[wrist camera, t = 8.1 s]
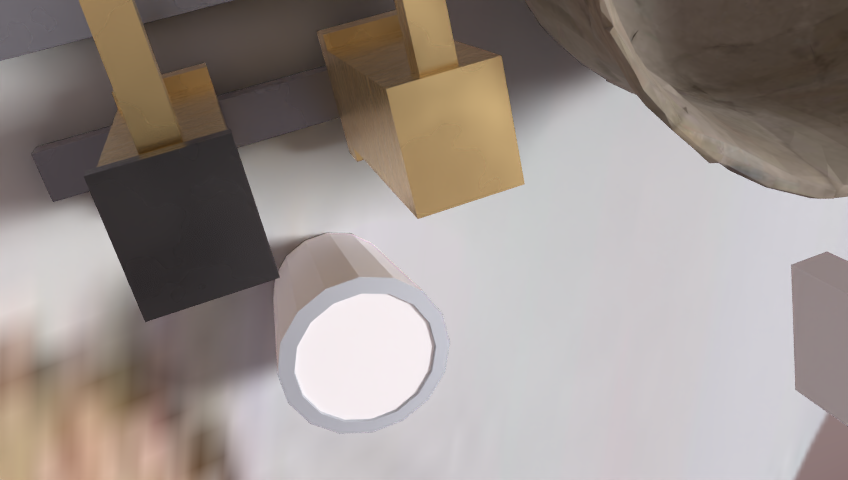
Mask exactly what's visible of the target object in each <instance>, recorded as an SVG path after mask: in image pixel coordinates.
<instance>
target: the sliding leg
mask: <svg viewBox="0 0 848 480" xmlns="http://www.w3.org/2000/svg"><path fill="white" fill-rule="evenodd" d="M79 3H80V5H81V8H82V10H83V13H84V16H85V18H86V21H87V23H88V26H89V28H90V31H91V34H92V36H93V39H94V41H95V44H96V46H97V49H98V52H99V54H100V57H101V59H102V62H103V64H104V67H105V70H106V72H107V75H108V77H109V80H110V82H111V85H112V88H113V91H112V95H113V98H114V100H115V103H116V105H117V108H118V109H117V112H116V115H115V118H114V120H113V123H112V126H111V129H110V132H109V134H108V137H107V140H106V143H105V145H104V148H103V151H102V154H101V157H100V159H99V162H98V165H97V167H96V168H93V169H89V170H86V172H85V174H84V179H85V181H86V183H87V186H88V188H89V190H90V193H91V195H92V197H93V200H94V202H95V205H96V207H97V209H98V212H99V214H100V216H101V219H102V221H103V223H104V226H105V228H106V230H107V233H108V235H109V238H110V240H111V242H112V245H113V247H114V249H115V252H116V254H117V256H118V259H119V261H120V263H121V266H122V268H123V270H124V273H125V275H126V278H127V280H128V282H129V285H130V287H131V289H132V292H133V294H134V296H135V299H136V301H137V303H138V306H139V308H140V311H141V313H142V315H143V318H144V320H145V322H147V321H150V320H153V319H156V318H159V317H162V316H165V315H168V314H171V313H174V312H177V311H180V310H183V309H186V308H189V307H192V306H195V305H198V304H201V303H204V302H207V301H210V300H214V299H217V298H220V297H223V296H226V295H229V294H232V293H235V292H238V291H241V290H244V289H247V288H250V287H253V286H256V285H259V284H262V283H265V282H268V281H271V280H274V279H277V278H280V276H279V273H278V270H277V267H276V264H275V261H274V258H273V255H272V252H271V249H270V246H269V243H268V240H267V237H266V234H265V231H264V228H263V225H262V222H261V219H260V216H259V213H258V210H257V207H256V204H255V201H254V198H253V195H252V192H251V189H250V186H249V183H248V180H247V177H246V174H245V171H244V168H243V165H242V162H241V159H240V156H239V153H238V150H237V147H236V144H235V141H234V138H233V135H232V132H231V129H227V126H226V123H225V120H224V117H223V114H222V111H221V108H220V105H219V102H218V99H217V96H216V93H215V90H214V87H213V84H212V81H211V78H210V75H209V72H208V69H207V66H206V63H202V64H198V65H195V66H191V67H187V68H184V69H180V70H176V71H173V72H169V73H165V74H162V75H161V72H160V69H159V67H158V64H157V61H156V58H155V56H154V53H153V50H152V47H151V45H150V42H149V39H148V36H147V33H146V31H145V28H144V25H143V22H142V20H141V17H140V14H139V11H138V8H137V6H136V3H135V0H79Z"/></svg>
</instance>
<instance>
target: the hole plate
mask: <svg viewBox="0 0 848 480" xmlns="http://www.w3.org/2000/svg"><path fill="white" fill-rule="evenodd" d="M229 1H233V0H135V3H136V6H137V8H138V11H139V14H140V17H141V20H142V22H143V24H144V23H148V22H152V21H156V20H159V19H163V18H167V17H171V16H175V15H179V14H182V13H186V12H190V11H194V10H198V9H202V8H206V7H209V6H213V5H217V4H221V3H225V2H229ZM90 37H93V36H92V34H91V31H90V28H89V26H88V23H87V21H86V18H85V16H84V13H83V10H82V8H81V5H80V3H79V0H0V61H1V60H5V59H9V58H13V57H17V56H21V55H24V54H28V53H32V52H36V51H40V50H44V49H48V48H51V47H55V46H59V45H63V44H67V43H71V42H75V41H78V40H82V39H86V38H90Z"/></svg>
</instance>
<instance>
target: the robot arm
mask: <svg viewBox="0 0 848 480" xmlns="http://www.w3.org/2000/svg"><path fill="white" fill-rule="evenodd" d="M791 273H792V302H793V332H794V361H795V390H797V391H798V392H800V393H801V394H802V395H804V396H805V397H807V398H808V399H809V400H811V401H812V402H814V403H815V404H816V405H818V406H819V407H821V408H822V409H823V410H825V411H826V412H828V413H829V414H831V415H832V416H833V417H835V418H836V419H838V420H839V421H840V422H842V423H843V424H845V425H846V426H848V261H846V260H844V259H842V258H840V257H838V256H836V255H833V254H831V253H829V252H824V253H822V254H819V255H816V256H814V257H811V258H808V259H806V260H803V261H800V262H798V263H795V264H792V265H791Z"/></svg>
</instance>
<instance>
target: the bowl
mask: <svg viewBox="0 0 848 480" xmlns="http://www.w3.org/2000/svg"><path fill="white" fill-rule="evenodd" d="M525 2H526V4H527V6H528V8H529V9H530V10H531V11H532V12H533V14H534V16H535V17H536V19H537V20H538V22H539V24H540V25H541V26H542V27H543V28H544V30H545V31H546V32H547V33H548V34H549V35H550V36H551V37H552V38H553V39H554V40H555V41H556V42H557V43H558V44H559V45H561V46H562V47H563V48H564V49H565V50H566V51H567V52H569V53H570V54H571V55H572V56H573V57H574V58H575V59H577V60H578V61H579V62H580V63H581V64H583V65H584V66H586V67H587V68H589V69H591V70H592V71H594V72H595V73H597V74H598V75H600V76H602V77H603V78H605V79H606V81H608V82H610V83H612V84H614V85H616V86H618V87H620V88H622V89H624V90H627V91H629V92H631V93H633V94H636V95H637V96H638V97H639V98H640V99H641V100H642V102H643V103H644V104H645V105H646V106H647V107H648V108H649V109H650V110H651V111H652V112H653V113H654V114H655V115H656V116H658V117H659V118H660V119H661V120H662V121H663V122H664V123H665V124H666V125H667V126H668V127H669V128H671V129H672V130H673V131H674V132H675V133H676V134H677V135H678V136H680V137H681V138H682V139H683V140H684V141H685V142H687V143H688V144H689V145H690V146H691V147H692V148H694V149H695V150H696V151H697V152H698V153H699V154H700V155H701V156H702V157H703V158H704V159H705V160H707V161H708V162H709V163H720V164H721V165H723V166H724V167H726V168H727V169H728V170H730V171H732V172H734V173H736V174H738V175H741V176H743V177H745V178H747V179H749V180H751V181H754V182H756V183H758V184H760V185H762V186H764V187H767V188H771V189H775V190H779V191H784V192H788V193H792V194H796V195H800V196H804V197H808V198H818V199H830V198H839V197H847V196H848V0H525Z"/></svg>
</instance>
